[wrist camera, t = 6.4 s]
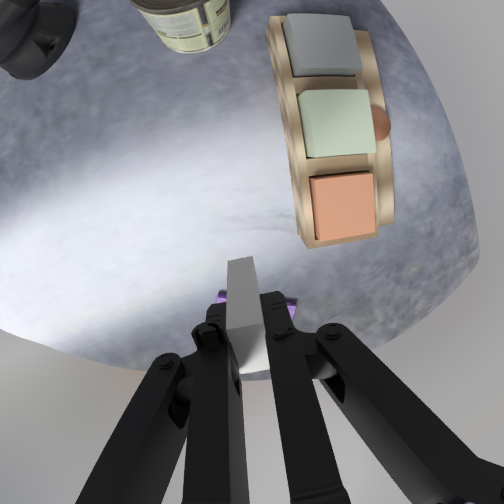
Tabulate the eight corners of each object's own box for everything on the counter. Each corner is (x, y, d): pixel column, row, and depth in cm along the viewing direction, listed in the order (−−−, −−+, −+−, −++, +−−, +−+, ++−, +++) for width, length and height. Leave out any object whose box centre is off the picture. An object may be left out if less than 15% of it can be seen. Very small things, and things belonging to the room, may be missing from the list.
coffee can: (162, 4, 25) (135, -44, 12) (232, -2, 26) (231, -57, 13) (156, 58, 29) (118, 20, 16) (229, 52, 29) (226, 5, 16)
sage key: (295, 98, 29) (304, 90, 24) (350, 96, 29) (367, 89, 24) (304, 156, 32) (315, 157, 27) (358, 151, 31) (376, 152, 27)
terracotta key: (304, 175, 34) (314, 179, 29) (355, 169, 34) (372, 173, 29) (310, 229, 37) (320, 241, 32) (359, 221, 37) (375, 232, 32)
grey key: (280, 29, 25) (287, 13, 20) (335, 30, 25) (349, 16, 20) (291, 79, 28) (300, 68, 23) (347, 78, 28) (363, 69, 23)
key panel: (265, 34, 28) (270, 16, 23) (362, 35, 28) (380, 22, 23) (298, 234, 39) (308, 249, 34) (387, 219, 39) (407, 231, 34)
